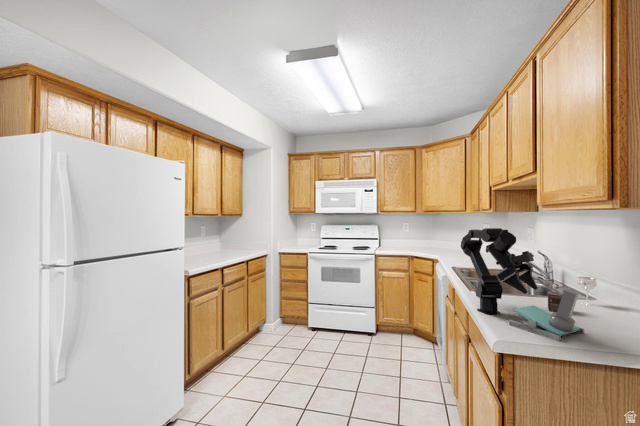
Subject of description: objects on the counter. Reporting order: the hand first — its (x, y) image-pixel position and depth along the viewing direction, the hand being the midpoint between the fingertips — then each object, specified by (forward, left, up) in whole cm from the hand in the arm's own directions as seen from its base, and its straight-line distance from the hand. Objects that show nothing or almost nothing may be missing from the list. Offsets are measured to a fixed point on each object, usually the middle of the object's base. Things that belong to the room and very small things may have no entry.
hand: (531, 291), depth 115 cm
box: (-14, +28, -14) cm, 34 cm away
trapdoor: (+2, +3, -11) cm, 12 cm away
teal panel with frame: (+3, +3, -13) cm, 14 cm away
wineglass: (-18, +50, -14) cm, 55 cm away
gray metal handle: (+8, +4, -11) cm, 14 cm away
